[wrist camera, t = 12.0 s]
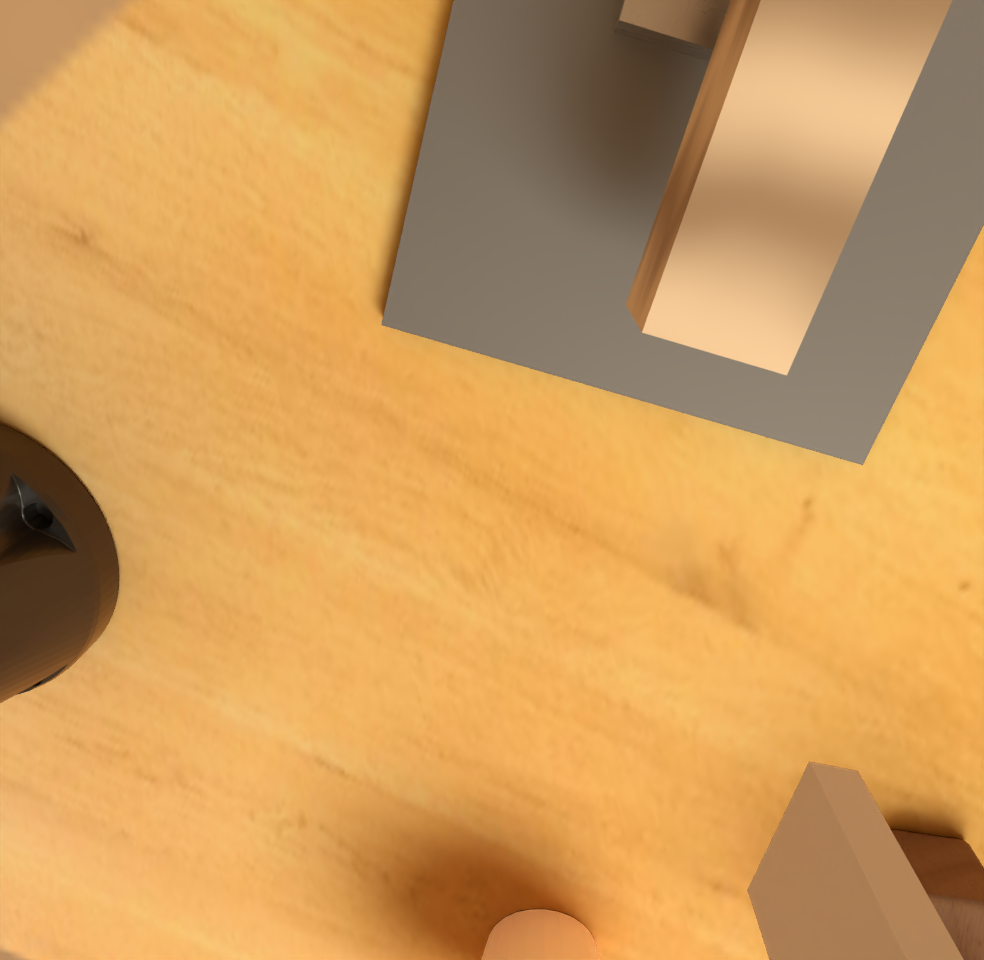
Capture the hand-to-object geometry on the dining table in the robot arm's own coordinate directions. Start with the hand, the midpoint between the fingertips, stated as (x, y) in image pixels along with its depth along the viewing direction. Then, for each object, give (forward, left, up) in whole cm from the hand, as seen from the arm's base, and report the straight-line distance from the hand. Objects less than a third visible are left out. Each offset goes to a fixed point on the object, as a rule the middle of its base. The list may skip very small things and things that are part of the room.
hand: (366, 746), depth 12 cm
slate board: (+6, +10, -25) cm, 27 cm away
